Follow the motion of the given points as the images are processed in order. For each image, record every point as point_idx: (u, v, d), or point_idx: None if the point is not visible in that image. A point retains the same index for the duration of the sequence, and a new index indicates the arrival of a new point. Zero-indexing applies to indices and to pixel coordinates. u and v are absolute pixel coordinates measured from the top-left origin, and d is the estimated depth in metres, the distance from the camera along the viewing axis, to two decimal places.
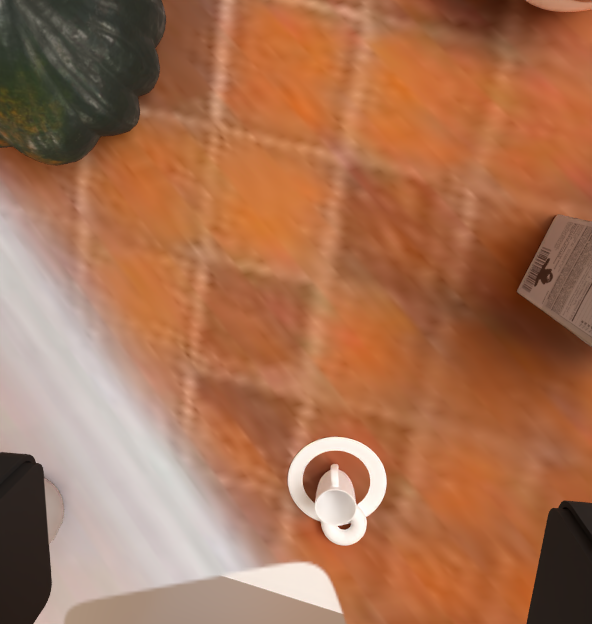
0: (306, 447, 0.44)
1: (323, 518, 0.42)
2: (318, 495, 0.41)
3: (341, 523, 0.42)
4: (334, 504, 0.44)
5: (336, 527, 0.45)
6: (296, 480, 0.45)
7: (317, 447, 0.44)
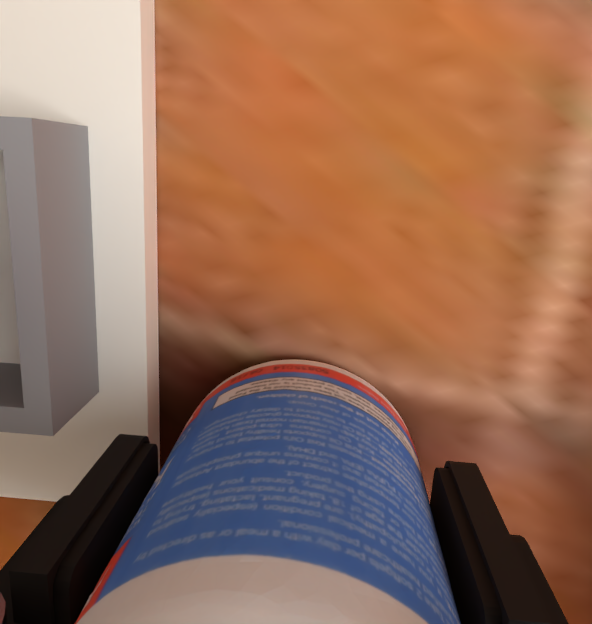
0: None
1: None
2: None
3: None
4: None
5: None
6: None
7: None
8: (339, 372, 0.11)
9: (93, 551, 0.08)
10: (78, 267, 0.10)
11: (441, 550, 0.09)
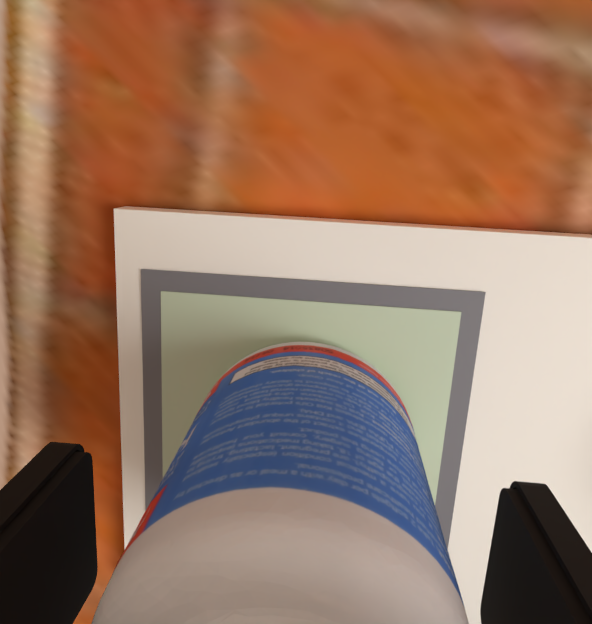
0: None
1: None
2: None
3: None
4: None
5: None
6: None
7: None
8: (342, 352, 0.13)
9: None
10: None
11: (433, 501, 0.10)
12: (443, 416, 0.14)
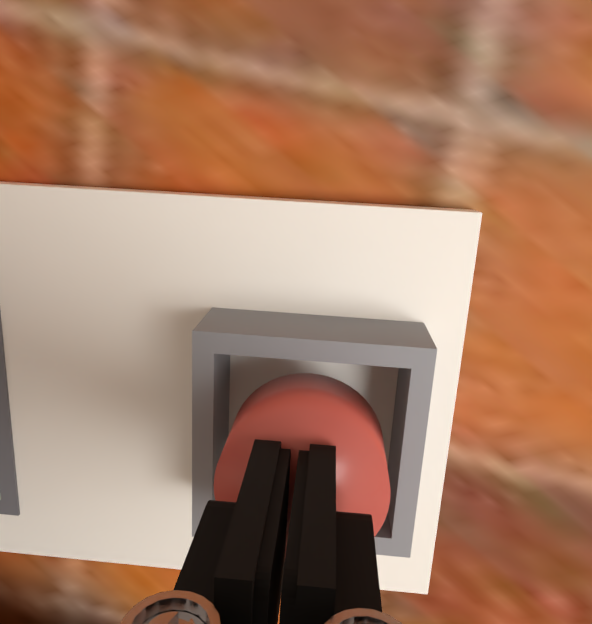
0: None
1: None
2: None
3: None
4: None
5: None
6: None
7: None
8: None
9: (274, 557, 0.08)
10: None
11: None
12: None
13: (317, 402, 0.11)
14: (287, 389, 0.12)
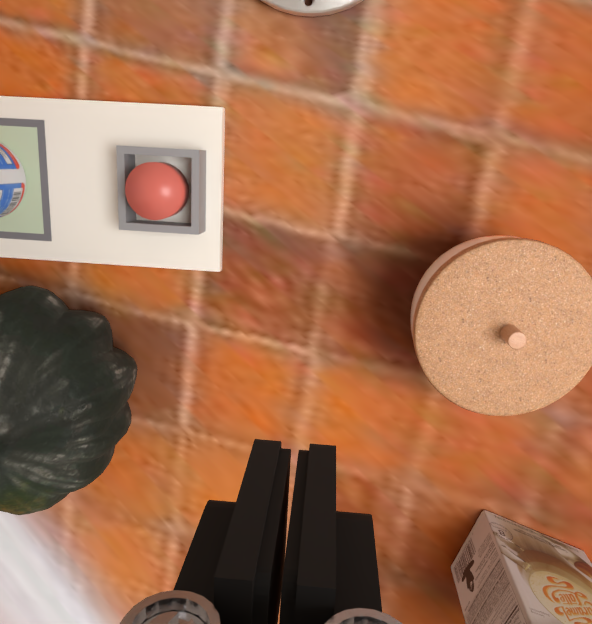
0: None
1: None
2: None
3: None
4: None
5: None
6: None
7: None
8: None
9: (274, 557, 0.08)
10: (203, 190, 0.37)
11: None
12: (38, 168, 0.38)
13: (158, 162, 0.35)
14: None
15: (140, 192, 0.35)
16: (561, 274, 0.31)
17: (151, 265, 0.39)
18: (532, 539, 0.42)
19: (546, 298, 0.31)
